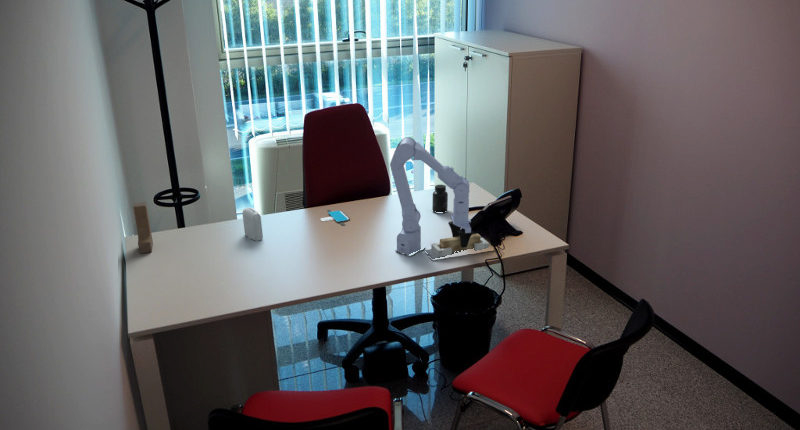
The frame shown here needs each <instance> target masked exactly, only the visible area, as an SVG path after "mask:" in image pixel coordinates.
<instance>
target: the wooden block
mask: <svg viewBox="0 0 800 430" xmlns="http://www.w3.org/2000/svg"><path fill="white" fill-rule="evenodd" d="M132 207H133V208H132V209H133V214H134V219H135V226H136V232H137V240H138V241H137V247H138V252H139V254H148V253H152V252H153V245H154V241H153V240H154V239H153V236H152V235H153V234H152V229H151V228H152V227H151V223H150V222H151V221H150V218H149V210H148V206H147V202H146V201H145V202H144V201H143V202H136V203H135V202H134V203H133V206H132Z"/></svg>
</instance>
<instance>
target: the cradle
mask: <svg viewBox="0 0 800 430" xmlns="http://www.w3.org/2000/svg"><path fill="white" fill-rule="evenodd" d="M489 244H490V243H489V241H487V240H486V239H485V238H484V237H482V236H481V237H480V243H475V244H474V250H475V251H477V250H482V249H486V248H488V247H489ZM430 246H431V249H424V252H425V251H426V252H427V253H428V255H429V256H430V257H431V258H432V259H435V258H440V257H445V256H447V255H452V254H454V252H452V249H451V248H450V247H449V248H443V249H440V242H433V243H431V245H430ZM463 251H464V250H463ZM459 252H461V251H459ZM455 253H458V252H457V251H456V252H455ZM428 255H427V256H428Z"/></svg>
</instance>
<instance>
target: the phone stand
mask: <svg viewBox="0 0 800 430" xmlns="http://www.w3.org/2000/svg"><path fill="white" fill-rule="evenodd" d="M326 211H327V213H328V215H330V216H327V217H321V218H320V221H321V222H329V221H336V222H337V223H338V224H340V225H341V226H346V223H345V222H346V221H350V220H351V218H350V216H348V215H347V214H346V213H345V212H344V210H342V209H341V210H334V211H332V210H331V209H326Z"/></svg>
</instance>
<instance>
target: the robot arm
mask: <svg viewBox="0 0 800 430" xmlns="http://www.w3.org/2000/svg"><path fill="white" fill-rule="evenodd" d="M411 159H412V160H413V161H422V162H423V163H424V164H425V165H427V166H428V167H429V168H430V169H432V170H433V171H434V172H435V173H437V178H438V179H439V180H440V181H441V182H443V183H444V184H445V186H446V187H449V188H450V189H452V192H453V194H454V198H453V214H450V221H448V222H447V224H448V226H449V228H450V230H451V235H452V237H458V236H460V241H461V247H462V248H464V247H467V245H468V242H469V239H470V237H471V235H472V234H474V230H472V227H471V225H470V223H471V222H472V220H471V219H470V218H469V212H470V211H469V210H470V209H469V206H470V183H469V180H467V178H466V177H464V176H462V175H461V176H460V175H459V174H458V173H457V172H455V169H454V167H452V166H449V165H443V164H441V163H440V161H438V160H437V158H435V157H434V156H433V155H432V154H431V153H430V152H429V151H428V150H427V149H425V148H424V146H423V145H422V144H421V143H420V142H418V141H417V142H416V140H415V139H414V138H413V137H410V136H408V137H407V136H405V137H404V138H402V139H401V140H400V141H399V143H398V144H397V146H396V148H395V150H394V153H393V155H392V158H391V160H390V162H389V166H390V171H391V174H392V176H393V177H392V178H393V182H394V184H395V185H394V186H395V189H396V192H397V197H398V199H399V204H400V207H401V217H402V222H401V226H402V227H401V230H400V232H399V233H398V234H397V236H396V249H395V250H394V251H395V252H396V251H398V252H397V253H399V252H401V253H400V254H402V253H404V254H403V255H405V254H407V255H406V256H408V255H409V254H411V253H413V252H416V251H418V250H420V249H421V246H422V245H421V244H422V242H421V240H422V233H421V231H422V229H421V225H420V223H419V222H420V220H421V216H422V215H421V212H420V211H419V210H418V208H417V206H416V203H414V200H413V195H412V191H411V188H410V184H409V181H408V176H407V172H406V168H405V164H406V163H407V162H408V161H409V160H411Z"/></svg>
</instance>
